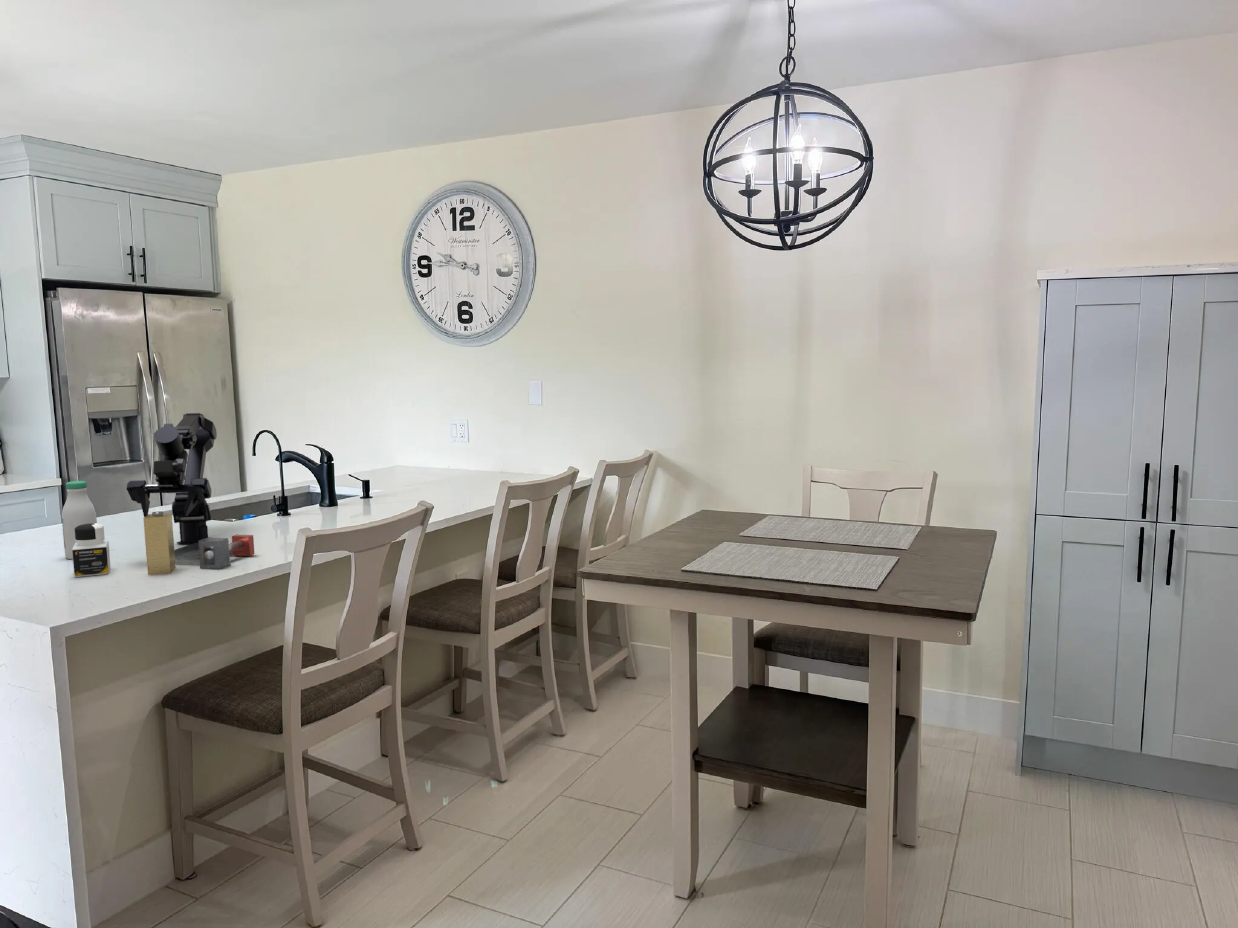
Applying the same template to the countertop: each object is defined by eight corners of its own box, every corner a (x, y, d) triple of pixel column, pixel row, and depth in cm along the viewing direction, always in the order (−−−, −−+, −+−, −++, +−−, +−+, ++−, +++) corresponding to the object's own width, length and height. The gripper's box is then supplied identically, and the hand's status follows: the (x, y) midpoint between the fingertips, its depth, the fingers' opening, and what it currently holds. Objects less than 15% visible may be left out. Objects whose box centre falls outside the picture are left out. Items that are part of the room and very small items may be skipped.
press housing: (200, 568, 213) (198, 540, 212) (210, 564, 216) (208, 537, 216) (220, 569, 212) (218, 541, 211) (230, 565, 215) (228, 538, 215)
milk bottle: (106, 554, 228) (100, 480, 225) (80, 560, 221) (73, 484, 218) (85, 552, 230) (78, 479, 228) (58, 558, 223) (51, 483, 220)
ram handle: (199, 567, 212) (198, 547, 211) (237, 553, 227) (236, 534, 226) (217, 568, 211) (216, 547, 210) (254, 554, 226) (253, 535, 225)
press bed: (164, 563, 217) (163, 553, 217) (196, 552, 229) (195, 542, 229) (206, 565, 215) (205, 555, 215) (235, 554, 227) (235, 544, 226)
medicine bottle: (74, 577, 204) (69, 528, 202) (77, 571, 210) (73, 523, 209) (108, 574, 207) (104, 525, 206) (110, 567, 214) (106, 520, 212)
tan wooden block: (153, 569, 211) (149, 511, 209) (175, 568, 213) (171, 510, 211) (147, 574, 207) (143, 514, 205) (170, 573, 208) (165, 513, 206)
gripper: (125, 449, 215) (114, 499, 206) (206, 447, 219) (198, 496, 210) (137, 475, 223) (127, 525, 214) (214, 473, 228) (208, 521, 219)
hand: (165, 516), depth 214 cm, fingers open, 9 cm apart
